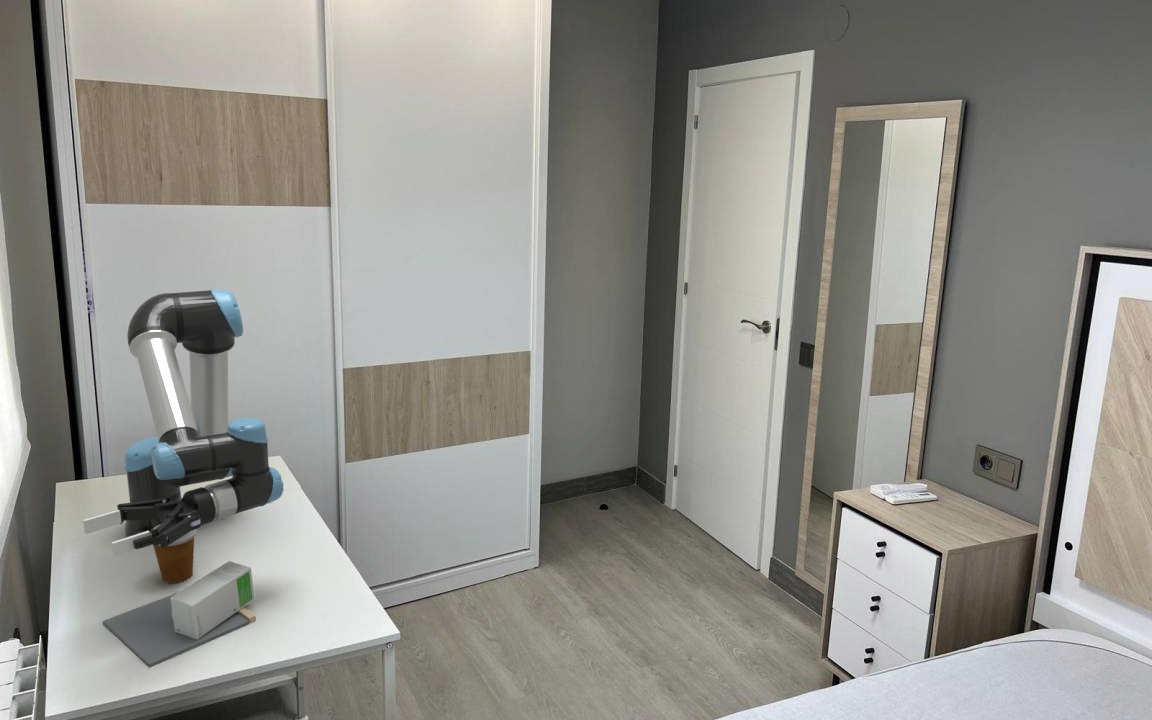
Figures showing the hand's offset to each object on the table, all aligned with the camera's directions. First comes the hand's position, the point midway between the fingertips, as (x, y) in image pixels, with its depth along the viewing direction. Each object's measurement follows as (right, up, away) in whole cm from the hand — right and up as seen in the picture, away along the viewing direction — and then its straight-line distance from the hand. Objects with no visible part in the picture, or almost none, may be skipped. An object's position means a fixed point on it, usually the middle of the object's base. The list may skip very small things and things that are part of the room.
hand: (98, 538), depth 157 cm
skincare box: (+18, -13, +22) cm, 32 cm away
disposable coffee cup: (-1, -16, +34) cm, 37 cm away
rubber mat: (+8, -21, +15) cm, 27 cm away
